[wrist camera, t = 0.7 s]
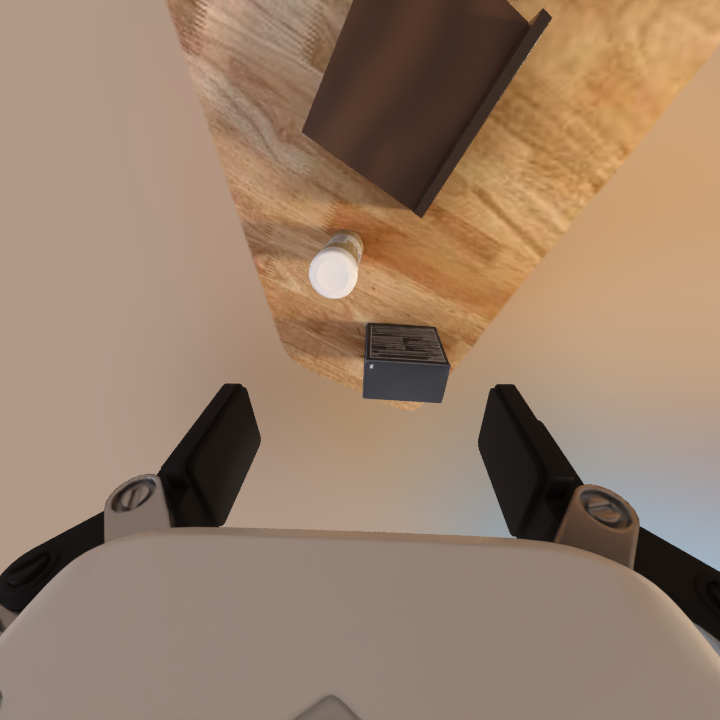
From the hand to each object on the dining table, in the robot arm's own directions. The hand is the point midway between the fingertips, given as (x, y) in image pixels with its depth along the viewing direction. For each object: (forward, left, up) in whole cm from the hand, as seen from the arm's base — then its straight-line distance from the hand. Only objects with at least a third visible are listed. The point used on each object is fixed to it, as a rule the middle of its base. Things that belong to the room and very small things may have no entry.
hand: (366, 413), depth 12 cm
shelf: (-5, +14, -32) cm, 35 cm away
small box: (+11, -10, -32) cm, 35 cm away
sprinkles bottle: (-3, -2, -32) cm, 32 cm away
